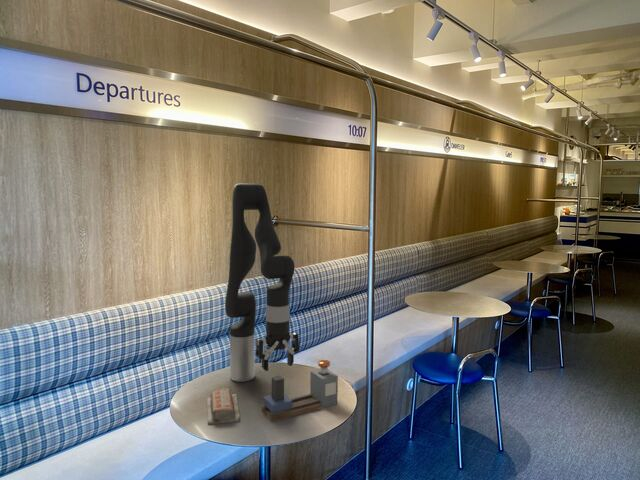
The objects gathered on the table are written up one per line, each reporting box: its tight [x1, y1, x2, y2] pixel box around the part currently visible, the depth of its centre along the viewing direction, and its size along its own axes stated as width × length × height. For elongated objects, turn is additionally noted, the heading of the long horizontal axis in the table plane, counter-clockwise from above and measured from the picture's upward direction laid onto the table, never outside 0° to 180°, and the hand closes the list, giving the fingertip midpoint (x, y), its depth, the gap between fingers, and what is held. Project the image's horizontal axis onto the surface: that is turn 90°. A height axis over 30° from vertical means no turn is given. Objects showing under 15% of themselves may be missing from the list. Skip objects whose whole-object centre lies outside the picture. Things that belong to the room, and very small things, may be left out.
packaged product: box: [206, 387, 241, 426], centre depth 156 cm, size 18×5×10 cm
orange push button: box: [317, 359, 331, 376], centre depth 162 cm, size 4×4×6 cm
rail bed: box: [261, 393, 322, 422], centre depth 156 cm, size 8×18×2 cm, turn 121°
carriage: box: [262, 375, 292, 413], centre depth 153 cm, size 7×7×9 cm
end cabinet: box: [309, 368, 339, 409], centre depth 162 cm, size 8×6×10 cm
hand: (277, 367), depth 152 cm, fingers open, 8 cm apart
